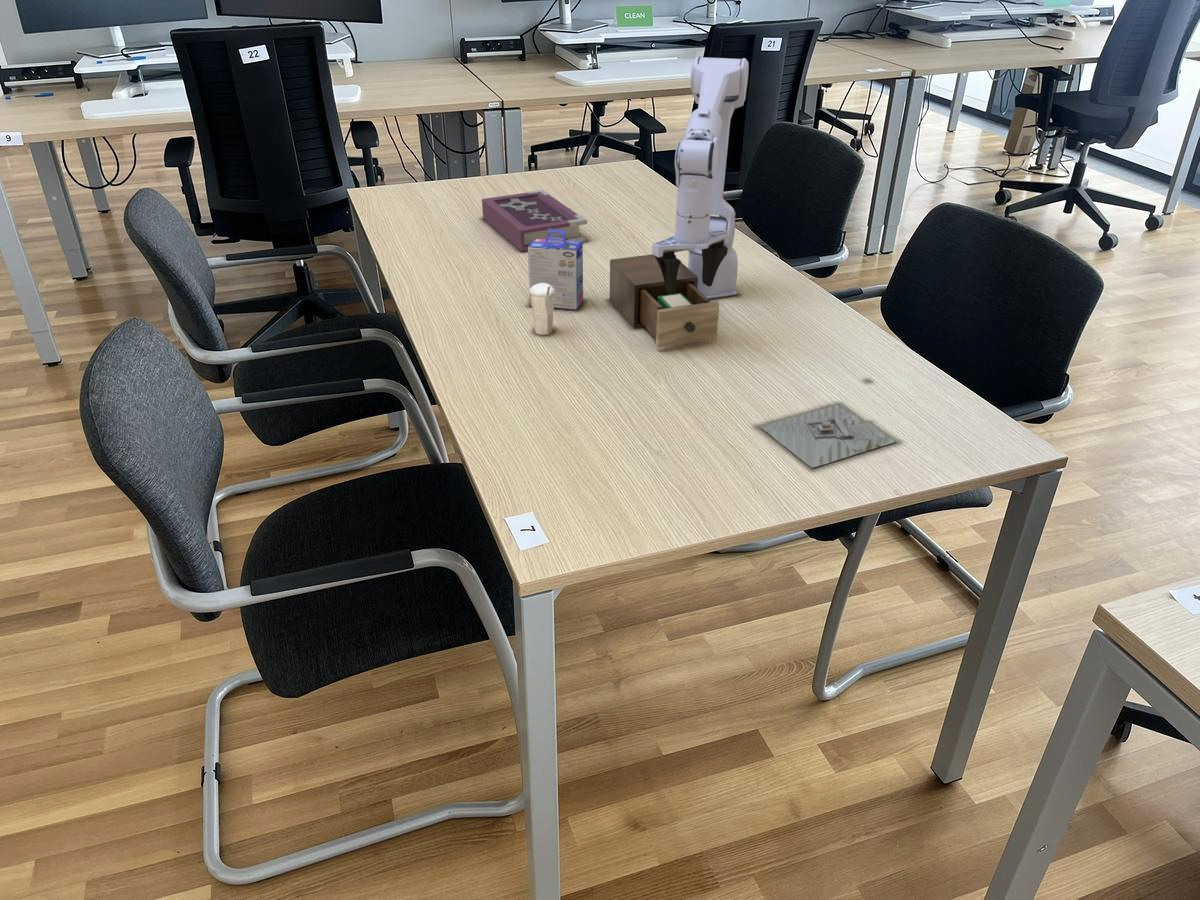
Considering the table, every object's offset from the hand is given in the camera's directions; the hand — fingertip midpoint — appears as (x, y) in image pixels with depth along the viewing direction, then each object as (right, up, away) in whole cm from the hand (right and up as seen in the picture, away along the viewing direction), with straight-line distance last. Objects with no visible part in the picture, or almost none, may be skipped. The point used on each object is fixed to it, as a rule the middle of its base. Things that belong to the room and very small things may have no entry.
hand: (688, 288), depth 162 cm
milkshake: (-26, -7, +8) cm, 28 cm away
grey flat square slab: (+22, -24, -19) cm, 38 cm away
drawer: (-2, -7, +6) cm, 9 cm away
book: (-31, +23, +55) cm, 68 cm away
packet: (-2, -5, +6) cm, 8 cm away
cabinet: (-6, -1, +16) cm, 17 cm away
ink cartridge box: (-24, 0, +19) cm, 31 cm away
